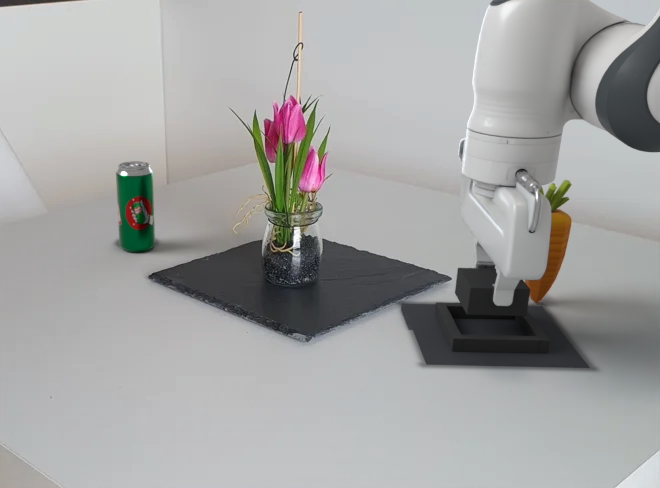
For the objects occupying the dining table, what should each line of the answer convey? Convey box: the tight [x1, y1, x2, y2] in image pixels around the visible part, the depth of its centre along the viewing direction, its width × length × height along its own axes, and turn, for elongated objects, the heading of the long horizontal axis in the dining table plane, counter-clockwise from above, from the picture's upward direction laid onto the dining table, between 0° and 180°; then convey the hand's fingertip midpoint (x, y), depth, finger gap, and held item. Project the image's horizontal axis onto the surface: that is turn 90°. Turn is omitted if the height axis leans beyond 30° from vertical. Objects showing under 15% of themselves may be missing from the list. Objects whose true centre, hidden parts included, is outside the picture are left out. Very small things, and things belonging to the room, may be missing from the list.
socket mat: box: [400, 302, 591, 369], centre depth 89 cm, size 16×16×2 cm
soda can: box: [115, 160, 156, 253], centre depth 117 cm, size 5×5×12 cm
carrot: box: [524, 179, 573, 304], centre depth 96 cm, size 5×5×15 cm
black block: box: [454, 267, 530, 316], centre depth 88 cm, size 6×6×3 cm
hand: (491, 289), depth 88 cm, fingers closed on black block, 6 cm apart
